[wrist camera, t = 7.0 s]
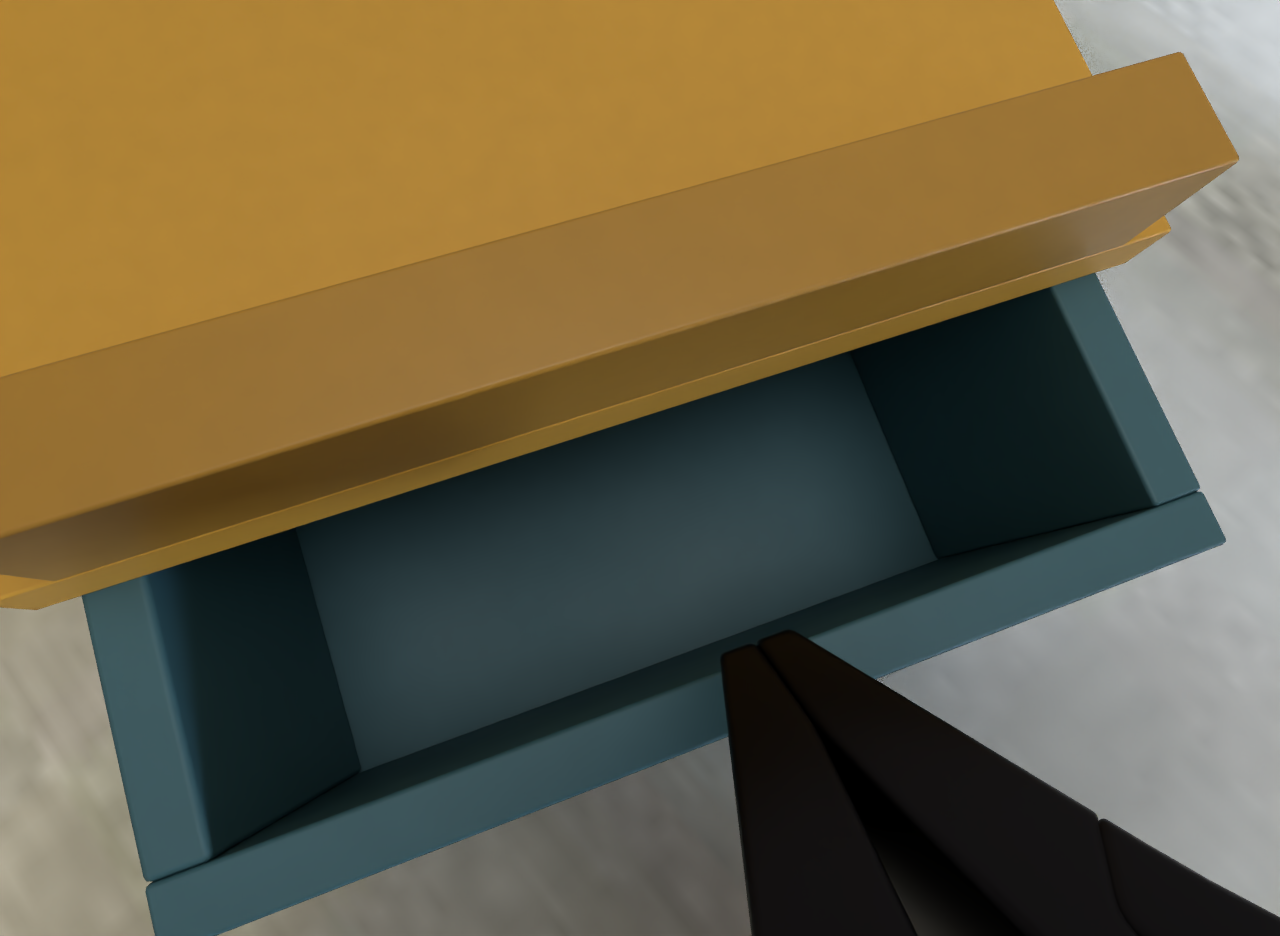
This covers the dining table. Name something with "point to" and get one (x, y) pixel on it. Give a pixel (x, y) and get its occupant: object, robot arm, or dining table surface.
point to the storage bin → (620, 597)
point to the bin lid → (501, 232)
